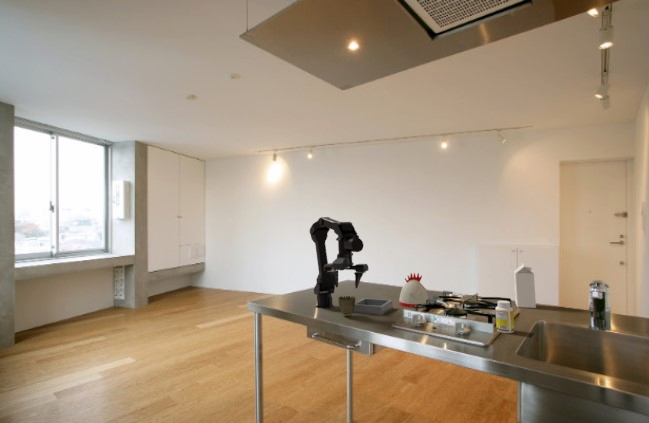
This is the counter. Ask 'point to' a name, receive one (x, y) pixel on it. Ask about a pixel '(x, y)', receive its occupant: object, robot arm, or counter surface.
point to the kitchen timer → (413, 292)
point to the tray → (373, 306)
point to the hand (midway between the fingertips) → (346, 287)
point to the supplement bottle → (504, 317)
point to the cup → (347, 305)
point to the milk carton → (524, 287)
